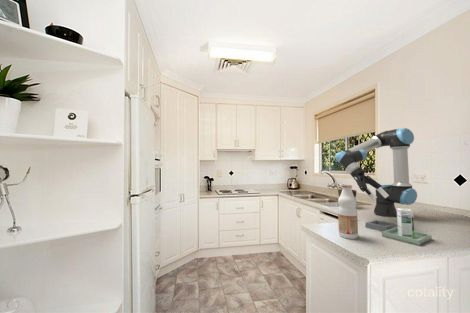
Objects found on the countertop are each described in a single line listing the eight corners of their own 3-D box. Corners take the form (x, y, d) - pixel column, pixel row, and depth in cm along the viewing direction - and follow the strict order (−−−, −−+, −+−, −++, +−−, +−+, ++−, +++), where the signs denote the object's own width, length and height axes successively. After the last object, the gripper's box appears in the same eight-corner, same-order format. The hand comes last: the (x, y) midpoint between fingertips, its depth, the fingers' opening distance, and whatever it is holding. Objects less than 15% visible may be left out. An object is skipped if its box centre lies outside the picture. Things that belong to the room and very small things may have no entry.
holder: (375, 224, 140) (375, 219, 141) (397, 229, 130) (396, 224, 130) (365, 227, 134) (365, 222, 134) (387, 232, 124) (386, 227, 124)
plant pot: (355, 207, 196) (355, 189, 197) (358, 210, 183) (358, 191, 183) (337, 206, 202) (337, 189, 202) (339, 209, 188) (338, 190, 189)
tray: (396, 231, 125) (395, 227, 125) (431, 239, 112) (431, 234, 112) (382, 236, 117) (382, 231, 117) (418, 245, 103) (418, 240, 104)
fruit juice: (337, 237, 117) (336, 185, 118) (339, 232, 125) (338, 184, 126) (357, 240, 112) (355, 186, 113) (358, 235, 120) (357, 184, 121)
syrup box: (401, 237, 113) (400, 209, 113) (397, 234, 118) (396, 207, 119) (414, 238, 111) (413, 210, 111) (410, 235, 116) (409, 208, 117)
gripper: (362, 174, 147) (386, 199, 134) (340, 175, 134) (365, 203, 121) (370, 166, 143) (396, 192, 130) (348, 167, 130) (375, 195, 117)
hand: (381, 197), depth 125 cm, fingers open, 13 cm apart
